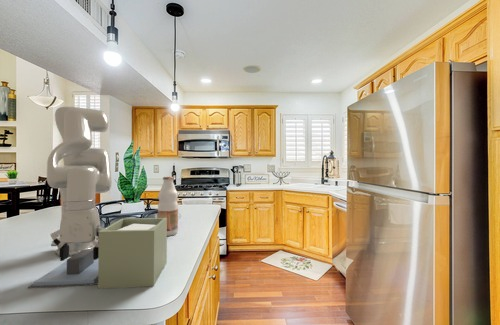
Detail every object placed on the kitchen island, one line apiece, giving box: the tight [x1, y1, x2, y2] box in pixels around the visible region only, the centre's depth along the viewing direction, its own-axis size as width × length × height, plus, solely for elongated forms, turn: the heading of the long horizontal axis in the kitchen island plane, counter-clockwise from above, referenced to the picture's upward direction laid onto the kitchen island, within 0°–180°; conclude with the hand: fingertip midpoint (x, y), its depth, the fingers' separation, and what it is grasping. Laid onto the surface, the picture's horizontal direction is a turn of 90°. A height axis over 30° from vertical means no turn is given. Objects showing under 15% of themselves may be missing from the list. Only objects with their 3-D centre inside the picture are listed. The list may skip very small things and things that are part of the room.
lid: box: [32, 249, 98, 286], centre depth 75 cm, size 16×16×6 cm
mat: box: [27, 280, 98, 289], centre depth 75 cm, size 18×17×1 cm
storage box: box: [97, 217, 168, 289], centre depth 74 cm, size 15×15×16 cm
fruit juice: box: [157, 176, 179, 237], centre depth 116 cm, size 9×9×28 cm
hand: (81, 258), depth 75 cm, fingers open, 9 cm apart
